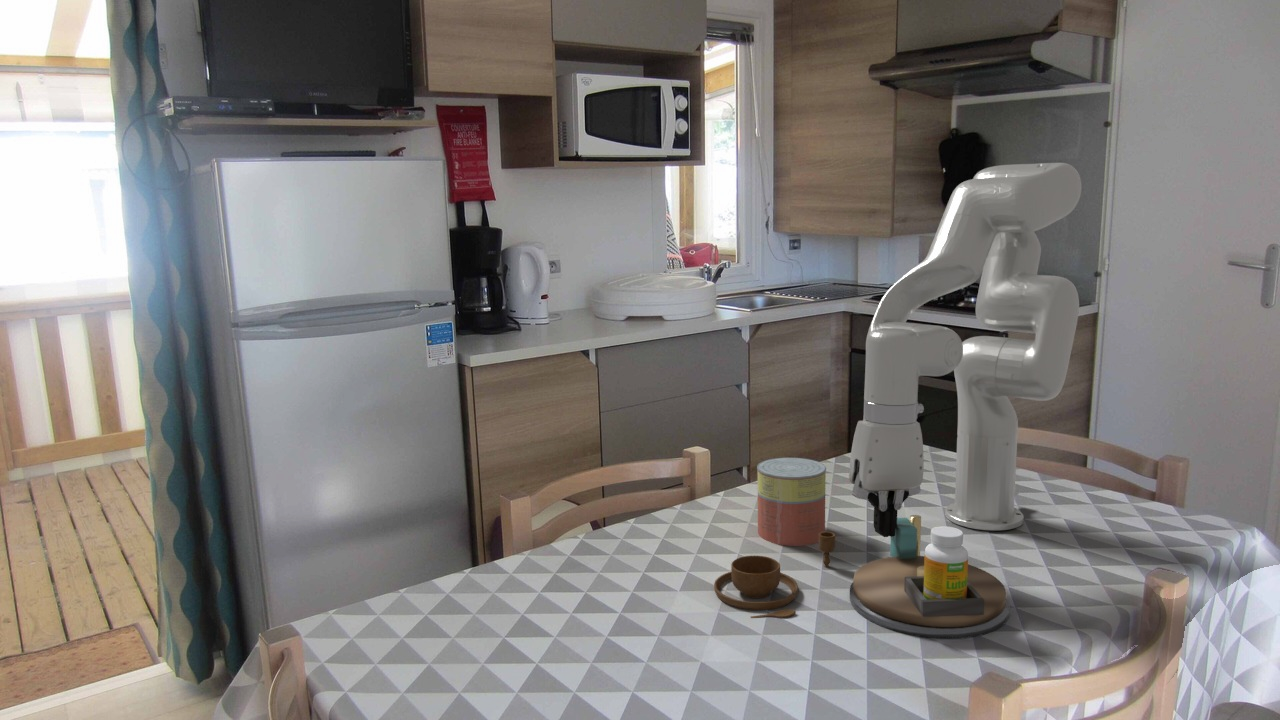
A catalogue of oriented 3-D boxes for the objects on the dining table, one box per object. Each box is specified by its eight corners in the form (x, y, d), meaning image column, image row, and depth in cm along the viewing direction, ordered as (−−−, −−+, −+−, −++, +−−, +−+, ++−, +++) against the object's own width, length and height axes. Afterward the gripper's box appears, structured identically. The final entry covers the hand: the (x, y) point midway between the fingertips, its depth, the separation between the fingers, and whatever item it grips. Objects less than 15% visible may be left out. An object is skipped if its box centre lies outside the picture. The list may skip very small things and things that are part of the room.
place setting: (704, 574, 139) (703, 537, 138) (831, 565, 141) (831, 529, 140) (726, 626, 122) (726, 584, 121) (871, 615, 124) (872, 574, 123)
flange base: (897, 560, 141) (898, 510, 139) (1035, 598, 126) (1038, 543, 125) (820, 605, 126) (820, 550, 124) (966, 655, 111) (969, 593, 110)
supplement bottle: (947, 614, 116) (949, 542, 114) (914, 599, 121) (916, 529, 119) (975, 603, 119) (978, 532, 117) (941, 589, 123) (944, 521, 122)
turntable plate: (1031, 624, 116) (1033, 580, 115) (874, 629, 116) (875, 584, 115) (963, 553, 140) (964, 515, 139) (832, 557, 139) (833, 519, 138)
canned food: (817, 523, 158) (817, 456, 156) (832, 547, 147) (833, 475, 145) (752, 525, 158) (752, 458, 156) (763, 549, 147) (762, 478, 145)
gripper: (920, 406, 139) (915, 522, 141) (831, 410, 135) (827, 530, 137) (949, 415, 131) (943, 537, 134) (856, 421, 128) (851, 546, 130)
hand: (884, 533), depth 136 cm, fingers closed
